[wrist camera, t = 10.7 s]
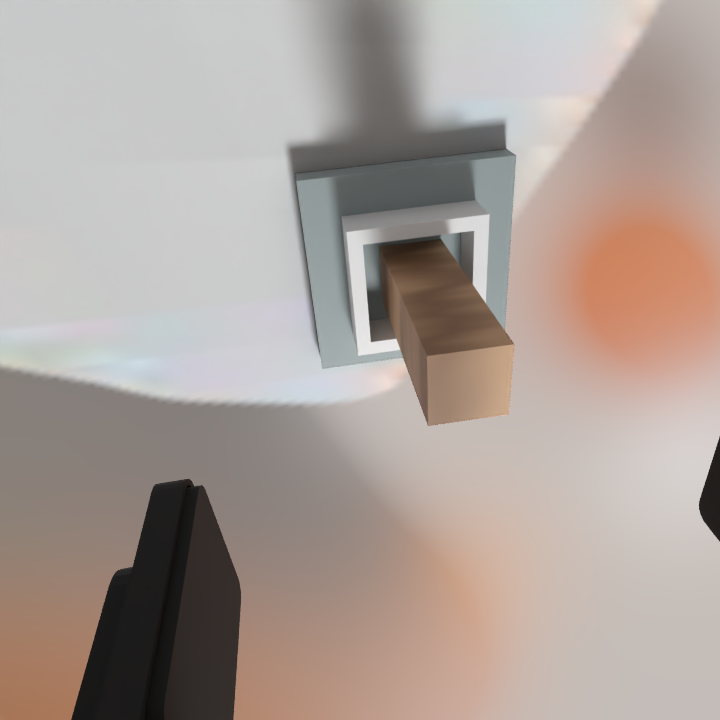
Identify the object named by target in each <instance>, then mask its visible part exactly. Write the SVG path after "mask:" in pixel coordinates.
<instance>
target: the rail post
mask: <svg viewBox="0 0 720 720" xmlns="http://www.w3.org/2000/svg"><path fill="white" fill-rule="evenodd" d="M380 262H381V279H382V295H383V304H384V307H385V309H386V312H387V315H388V317H389V320H390V323H391V326H392V328H393V331H394V334H395V337H396V339H397V342H398V345H399V348H400V350H401V353H402V356H403V358H404V361H405V364H406V367H407V369H408V372H409V375H410V378H411V380H412V383H413V386H414V388H415V391H416V394H417V397H418V399H419V402H420V405H421V407H422V410H423V413H424V416H425V418H426V421H427V424H428V426H430V425H438V424H445V423H451V422H458V421H465V420H472V419H479V418H486V417H493V416H500V415H507V414H509V404H510V392H511V379H512V366H513V353H514V343H513V342H512V340H511V339H510V337H509V336H508V334H507V333H506V332H505V330H504V329H503V327H502V326H501V324H500V323H499V322H498V320H497V319H496V317H495V316H494V314H493V313H492V311H491V310H490V309H489V307H488V306H487V304H486V303H485V301H484V300H483V299H482V297H481V296H480V294H479V293H478V291H477V290H476V289H475V287H474V286H473V284H472V283H471V281H470V280H469V278H468V277H467V276H466V274H465V273H464V271H463V270H462V268H461V267H460V266H459V264H458V263H457V261H456V260H455V258H454V257H453V256H452V254H451V253H450V251H449V250H448V248H447V247H446V245H445V244H444V243H443V241H442V240H441V239H436V240H428V241H420V242H412V243H404V244H395V245H387V246H380Z"/></svg>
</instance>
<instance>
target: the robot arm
mask: <svg viewBox="0 0 720 720" xmlns="http://www.w3.org/2000/svg"><path fill="white" fill-rule="evenodd" d="M699 510H700V514H701V516H702V518H703V520H704V522H705V523H706V524H707V526H708V527H709V528H710V530H711V531H712V532H713V534H714V535H715V536H716V537H717V539H718V540H719V541H720V438H719V441H718V444H717V447H716V450H715V453H714V457H713V460H712V463H711V466H710V469H709V472H708V476H707V479H706V482H705V485H704V488H703V492H702V495H701V498H700V501H699ZM240 606H241V590H240V583H239V579H238V576H237V574H236V571H235V568H234V566H233V563H232V561H231V558H230V555H229V552H228V550H227V547H226V544H225V542H224V539H223V536H222V533H221V531H220V528H219V525H218V523H217V520H216V517H215V515H214V512H213V509H212V507H211V504H210V501H209V499H208V496H207V493H206V490H205V488H204V487H203V486H202V485H201V486H195V487H194V485H193V483H192V481H191V480H190V479H184V480H179V481H172V482H167V483H160V484H156V485H155V486H154V487H153V490H152V492H151V496H150V500H149V505H148V509H147V512H146V517H145V521H144V525H143V528H142V532H141V536H140V540H139V545H138V549H137V552H136V557H135V560H134V565H133V567H130V568H125V569H121V570H118V571H117V572H116V573H115V574H114V576H113V577H112V580H111V582H110V585H109V588H108V591H107V595H106V599H105V602H104V606H103V609H102V613H101V616H100V620H99V623H98V627H97V630H96V634H95V638H94V641H93V645H92V648H91V652H90V655H89V659H88V663H87V666H86V669H85V673H84V677H83V680H82V684H81V688H80V691H79V695H78V698H77V701H76V705H75V708H74V712H73V716H72V719H71V720H233V716H234V715H233V714H234V700H235V685H236V669H237V654H238V638H239V621H240Z"/></svg>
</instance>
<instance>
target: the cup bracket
mask: <svg viewBox="0 0 720 720" xmlns="http://www.w3.org/2000/svg"><path fill="white" fill-rule="evenodd" d="M515 163H516V155H515V154H513V153H512V152H510V151H509V150H507V149H503V150H494V151H485V152H477V153H468V154H460V155H451V156H443V157H434V158H426V159H417V160H408V161H400V162H391V163H383V164H374V165H366V166H357V167H349V168H340V169H331V170H323V171H314V172H306V173H297V174H295V177H296V184H297V191H298V198H299V205H300V213H301V220H302V227H303V234H304V241H305V248H306V256H307V263H308V270H309V277H310V284H311V292H312V299H313V306H314V313H315V320H316V328H317V335H318V342H319V349H320V356H321V363H322V369H325V368H332V367H339V366H346V365H353V364H361V363H368V362H375V361H382V360H389V359H396V358H403V356H402V353H401V350H400V348H399V345H398V342H397V339H396V337H395V334H394V331H393V328H392V326H391V323H390V320H389V317H388V315H387V312H386V309H385V307H384V304H383V295H382V279H381V262H380V246H387V245H395V244H404V243H412V242H420V241H428V240H436V239H441V240H442V241H443V243H444V244H445V245H446V247H447V248H448V250H449V251H450V253H451V254H452V256H453V257H454V258H455V260H456V261H457V263H458V264H459V266H460V267H461V268H462V270H463V271H464V273H465V274H466V276H467V277H468V278H469V280H470V281H471V283H472V284H473V286H474V287H475V289H476V290H477V291H478V293H479V294H480V296H481V297H482V299H483V300H484V301H485V303H486V304H487V306H488V307H489V309H490V310H491V311H492V313H493V314H494V316H495V317H496V319H497V320H498V322H499V323H500V324H501V326H502V327H503V329H504V330H505V320H506V304H507V288H508V287H507V286H508V273H509V257H510V241H511V226H512V210H513V195H514V179H515Z"/></svg>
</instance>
